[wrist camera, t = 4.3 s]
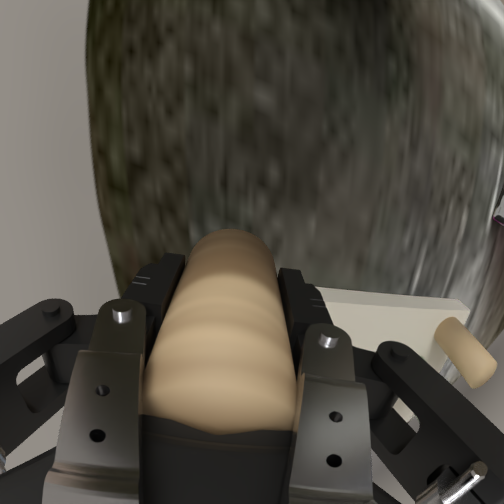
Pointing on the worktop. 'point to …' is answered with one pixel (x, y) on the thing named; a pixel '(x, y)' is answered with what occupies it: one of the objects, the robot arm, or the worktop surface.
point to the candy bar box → (500, 210)
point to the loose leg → (224, 343)
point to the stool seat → (412, 330)
